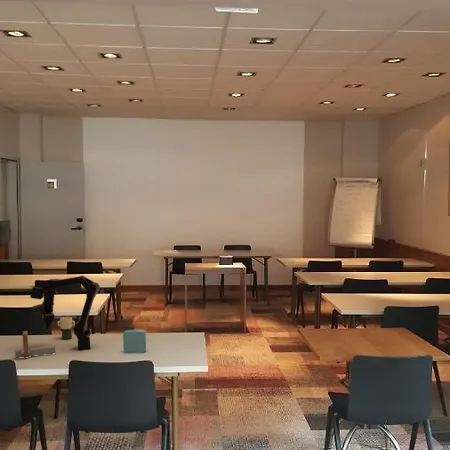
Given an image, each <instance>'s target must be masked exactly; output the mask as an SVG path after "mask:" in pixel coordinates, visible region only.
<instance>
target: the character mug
mask: <svg viewBox="0 0 450 450" xmlns="http://www.w3.org/2000/svg"><path fill="white" fill-rule="evenodd" d="M75 323H76V321H75V320H73V318H72V317H71V316H65V317H60V318H59V320H58V321H57V326H58V327H60V329H61V330H62V331H61V339H63V340H69V338H70V339H71V338H73V333H72V328H73V327H75Z"/></svg>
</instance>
